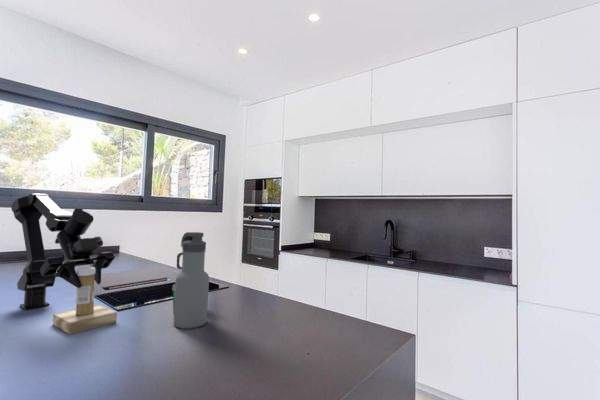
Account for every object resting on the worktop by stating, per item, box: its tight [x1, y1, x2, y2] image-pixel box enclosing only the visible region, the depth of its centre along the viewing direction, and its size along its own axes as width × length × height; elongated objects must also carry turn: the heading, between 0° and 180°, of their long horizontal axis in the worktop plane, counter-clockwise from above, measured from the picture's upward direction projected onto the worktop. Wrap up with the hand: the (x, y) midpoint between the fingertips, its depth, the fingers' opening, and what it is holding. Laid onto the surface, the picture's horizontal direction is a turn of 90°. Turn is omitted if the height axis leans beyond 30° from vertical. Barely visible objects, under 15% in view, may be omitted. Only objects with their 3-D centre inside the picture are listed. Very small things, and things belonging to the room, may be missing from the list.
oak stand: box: [52, 304, 118, 335], centre depth 92 cm, size 12×12×3 cm
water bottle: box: [173, 231, 210, 330], centre depth 96 cm, size 10×10×28 cm
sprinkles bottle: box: [75, 266, 95, 315], centre depth 92 cm, size 5×5×13 cm
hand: (90, 285), depth 92 cm, fingers open, 5 cm apart
